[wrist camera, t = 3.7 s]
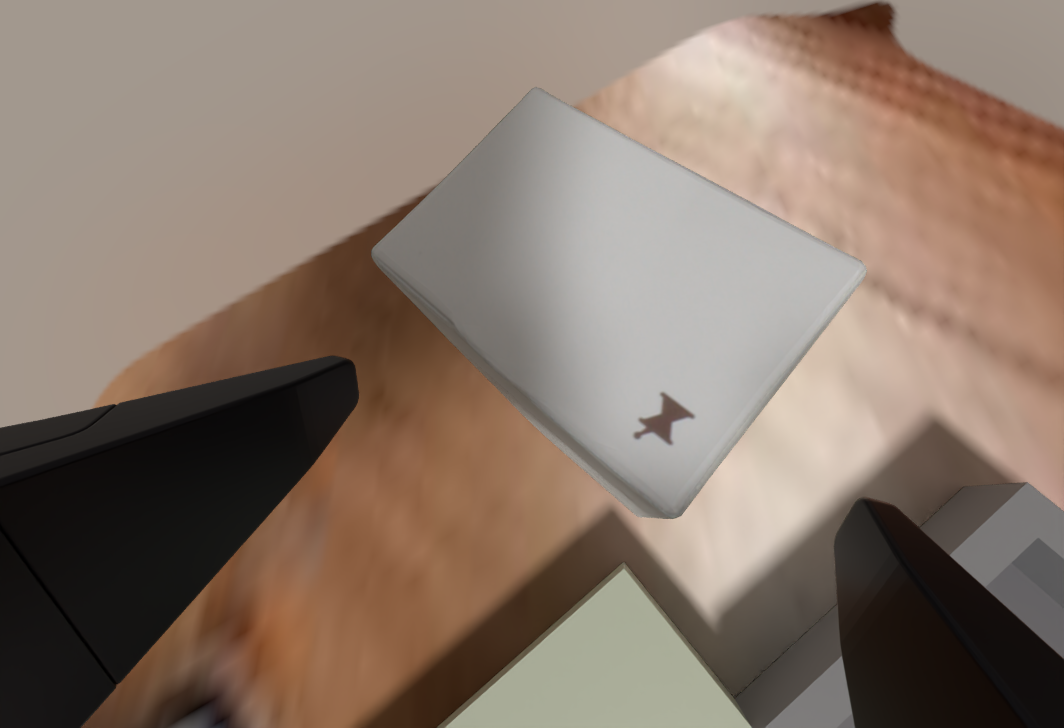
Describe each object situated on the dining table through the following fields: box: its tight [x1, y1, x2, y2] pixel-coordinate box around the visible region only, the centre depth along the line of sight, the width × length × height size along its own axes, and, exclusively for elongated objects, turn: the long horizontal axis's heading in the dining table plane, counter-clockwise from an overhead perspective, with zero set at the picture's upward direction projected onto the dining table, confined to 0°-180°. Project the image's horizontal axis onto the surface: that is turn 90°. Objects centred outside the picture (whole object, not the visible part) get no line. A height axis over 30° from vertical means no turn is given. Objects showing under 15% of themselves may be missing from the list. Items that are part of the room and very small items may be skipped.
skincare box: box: [371, 87, 867, 519], centre depth 12 cm, size 6×4×12 cm
